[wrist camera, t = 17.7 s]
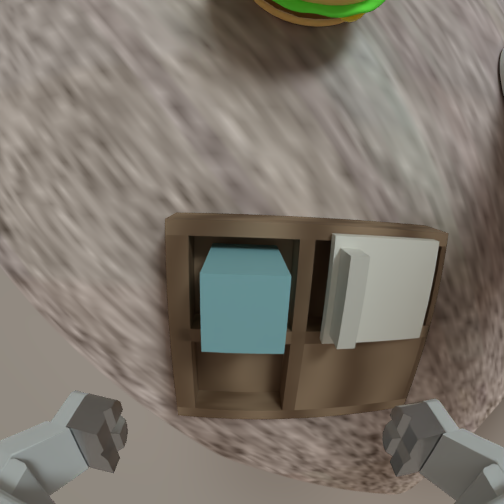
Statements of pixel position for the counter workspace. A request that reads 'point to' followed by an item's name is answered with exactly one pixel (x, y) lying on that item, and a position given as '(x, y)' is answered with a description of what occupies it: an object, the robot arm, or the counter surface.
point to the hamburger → (319, 10)
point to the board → (298, 325)
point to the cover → (377, 288)
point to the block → (244, 299)
